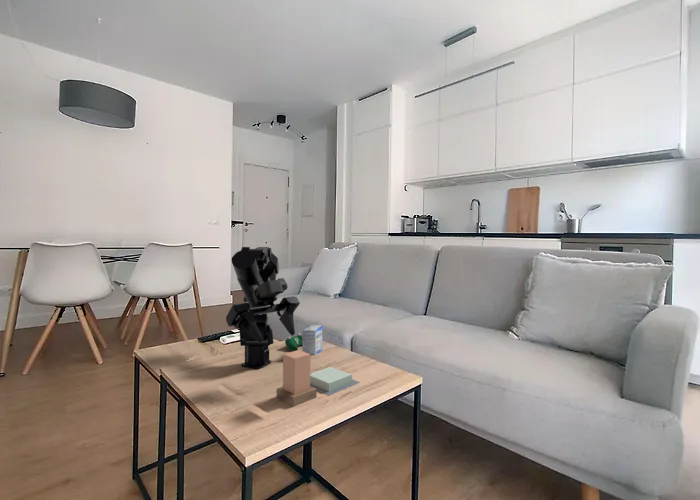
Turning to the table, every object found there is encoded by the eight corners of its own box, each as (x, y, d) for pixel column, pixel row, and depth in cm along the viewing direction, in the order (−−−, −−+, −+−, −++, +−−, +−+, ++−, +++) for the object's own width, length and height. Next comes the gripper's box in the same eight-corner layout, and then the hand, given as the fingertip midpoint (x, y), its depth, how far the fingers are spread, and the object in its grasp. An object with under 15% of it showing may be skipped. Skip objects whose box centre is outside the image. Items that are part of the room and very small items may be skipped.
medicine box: (315, 358, 113) (315, 330, 112) (302, 357, 114) (302, 330, 113) (322, 350, 120) (322, 325, 120) (309, 349, 121) (309, 324, 121)
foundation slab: (307, 382, 91) (307, 374, 91) (330, 374, 97) (330, 366, 97) (329, 391, 85) (329, 383, 85) (352, 382, 91) (352, 374, 91)
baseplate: (299, 386, 91) (299, 382, 91) (330, 374, 99) (330, 371, 99) (328, 399, 83) (328, 395, 83) (360, 386, 91) (360, 382, 91)
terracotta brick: (282, 388, 82) (283, 354, 82) (298, 383, 85) (298, 350, 85) (294, 394, 79) (294, 358, 79) (310, 388, 82) (310, 354, 82)
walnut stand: (276, 401, 82) (276, 388, 82) (298, 393, 87) (298, 380, 87) (293, 411, 77) (293, 397, 77) (316, 401, 82) (316, 388, 82)
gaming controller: (307, 349, 128) (297, 336, 130) (313, 343, 126) (303, 330, 128) (290, 357, 120) (280, 342, 122) (296, 350, 118) (286, 335, 120)
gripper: (231, 270, 83) (257, 325, 76) (295, 266, 97) (322, 313, 89) (216, 299, 89) (238, 353, 82) (278, 292, 102) (302, 338, 95)
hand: (278, 338), depth 87 cm, fingers open, 9 cm apart
